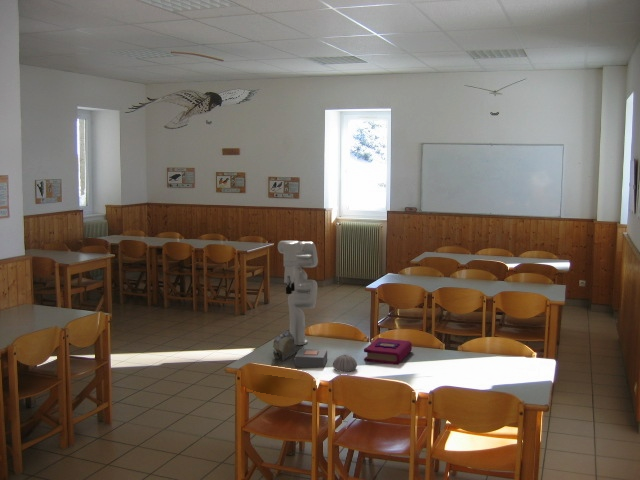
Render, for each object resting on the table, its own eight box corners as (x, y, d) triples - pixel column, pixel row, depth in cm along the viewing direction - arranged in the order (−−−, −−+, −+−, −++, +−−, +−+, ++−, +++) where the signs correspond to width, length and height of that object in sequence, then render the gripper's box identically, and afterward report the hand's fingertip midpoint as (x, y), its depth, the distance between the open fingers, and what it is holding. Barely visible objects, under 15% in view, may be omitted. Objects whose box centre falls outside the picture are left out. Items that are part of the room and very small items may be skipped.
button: (306, 355, 379) (306, 350, 379) (318, 356, 378) (318, 351, 378) (304, 359, 372) (304, 354, 372) (316, 359, 371) (316, 354, 371)
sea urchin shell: (336, 374, 355) (336, 359, 354) (329, 367, 368) (329, 352, 367) (360, 372, 358) (360, 357, 357) (352, 364, 371) (352, 350, 370)
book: (411, 352, 396) (411, 340, 395) (399, 365, 370) (399, 352, 369) (377, 349, 404) (377, 336, 403) (363, 361, 378) (363, 348, 377)
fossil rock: (284, 367, 379) (279, 343, 375) (269, 367, 383) (264, 342, 379) (298, 351, 397) (294, 327, 393) (284, 350, 401) (280, 327, 397)
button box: (299, 358, 385) (299, 348, 384) (327, 359, 382) (327, 349, 382) (294, 366, 369) (294, 356, 368) (323, 367, 367) (323, 357, 366)
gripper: (286, 261, 399) (286, 289, 401) (280, 265, 382) (281, 295, 384) (298, 261, 398) (299, 289, 400) (293, 265, 381) (294, 295, 383)
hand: (290, 292), depth 392 cm, fingers open, 9 cm apart
